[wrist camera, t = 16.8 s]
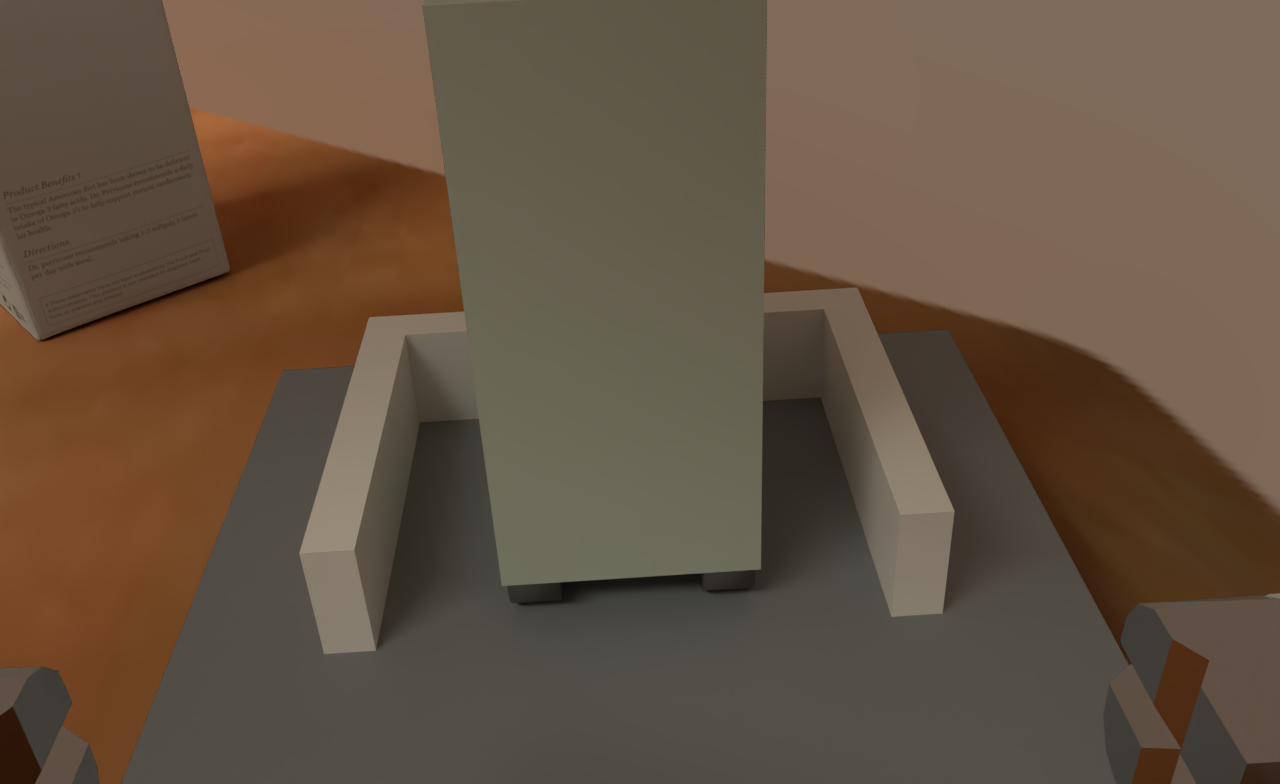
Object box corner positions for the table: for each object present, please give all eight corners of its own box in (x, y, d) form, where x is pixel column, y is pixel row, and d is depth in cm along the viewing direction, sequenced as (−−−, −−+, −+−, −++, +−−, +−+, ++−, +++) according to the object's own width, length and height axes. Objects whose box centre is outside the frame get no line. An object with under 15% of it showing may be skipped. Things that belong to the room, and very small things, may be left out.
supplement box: (156, 218, 50) (64, -112, 43) (236, 276, 45) (147, -87, 38) (-35, 278, 46) (-169, -76, 39) (30, 348, 41) (-109, -43, 34)
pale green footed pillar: (507, 624, 24) (422, 5, 18) (518, 450, 29) (456, -79, 23) (760, 608, 24) (767, -15, 18) (727, 437, 29) (724, -94, 23)
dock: (129, 1002, 21) (29, 785, 18) (304, 461, 34) (263, 287, 31) (1174, 929, 21) (1243, 703, 18) (938, 421, 35) (956, 245, 32)
